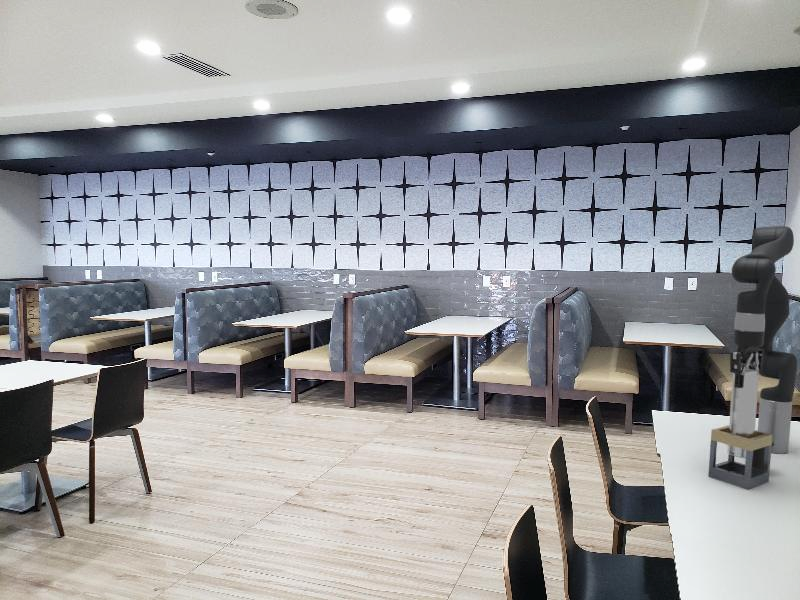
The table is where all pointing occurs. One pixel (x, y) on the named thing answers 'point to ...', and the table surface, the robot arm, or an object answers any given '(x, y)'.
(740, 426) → the silver metal cylinder
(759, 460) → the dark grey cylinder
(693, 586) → the table surface
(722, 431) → the collar stand
